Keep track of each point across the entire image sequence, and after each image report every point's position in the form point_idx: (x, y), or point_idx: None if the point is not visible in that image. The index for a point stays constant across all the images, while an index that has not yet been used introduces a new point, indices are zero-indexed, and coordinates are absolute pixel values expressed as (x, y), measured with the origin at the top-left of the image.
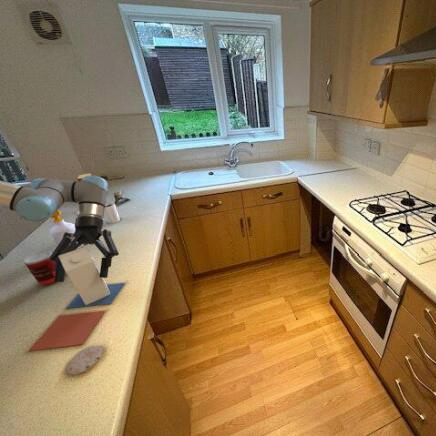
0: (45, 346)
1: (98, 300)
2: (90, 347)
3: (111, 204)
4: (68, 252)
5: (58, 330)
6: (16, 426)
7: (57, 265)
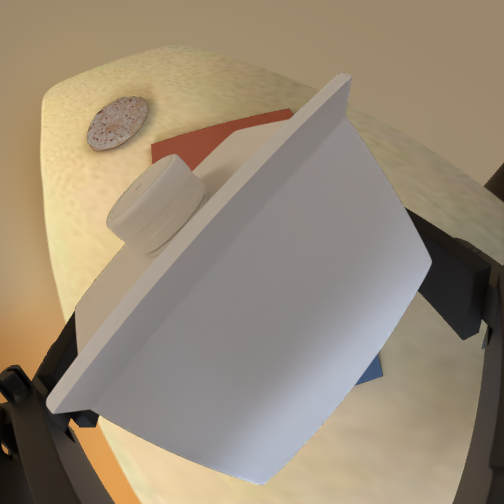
0: (252, 121)
1: None
2: (117, 138)
3: None
4: (258, 160)
5: None
6: (165, 48)
7: (463, 248)
